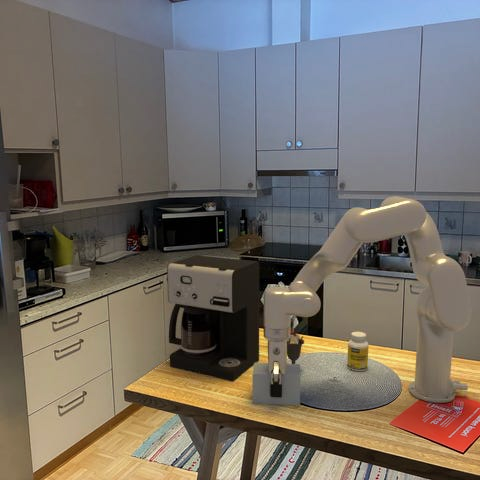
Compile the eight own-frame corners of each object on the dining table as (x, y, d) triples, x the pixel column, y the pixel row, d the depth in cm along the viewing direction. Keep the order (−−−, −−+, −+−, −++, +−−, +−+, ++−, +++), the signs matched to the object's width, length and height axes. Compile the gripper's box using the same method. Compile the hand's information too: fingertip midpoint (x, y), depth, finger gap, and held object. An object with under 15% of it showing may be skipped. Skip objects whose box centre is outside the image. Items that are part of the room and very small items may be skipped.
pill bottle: (344, 369, 157) (345, 335, 155) (350, 362, 163) (351, 329, 161) (364, 373, 154) (366, 338, 152) (369, 366, 160) (370, 332, 158)
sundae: (279, 368, 159) (279, 324, 156) (297, 365, 161) (298, 321, 159) (288, 376, 152) (288, 330, 150) (307, 373, 155) (308, 328, 152)
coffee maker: (158, 365, 161) (155, 262, 156) (190, 345, 178) (188, 252, 173) (232, 382, 148) (231, 271, 143) (259, 359, 165) (259, 259, 160)
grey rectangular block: (299, 392, 142) (299, 364, 140) (299, 405, 134) (300, 375, 133) (254, 390, 143) (254, 362, 142) (252, 403, 135) (252, 373, 134)
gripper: (290, 343, 126) (289, 404, 129) (290, 321, 144) (289, 376, 146) (261, 342, 127) (261, 403, 130) (264, 321, 144) (264, 375, 147)
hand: (276, 388), depth 138 cm, fingers open, 9 cm apart
